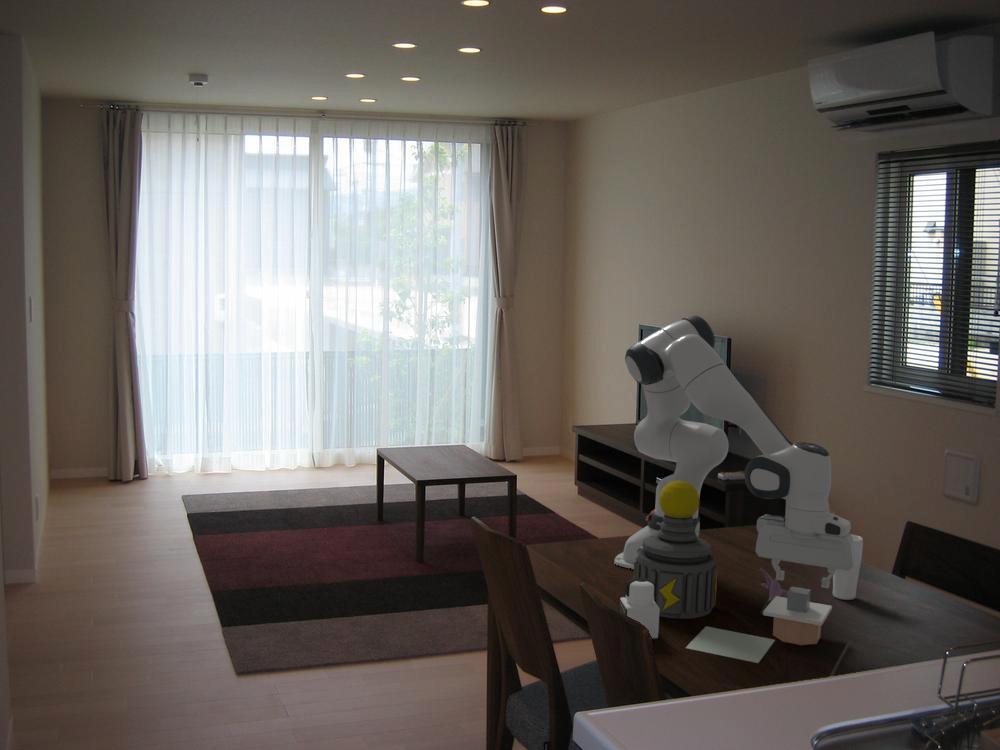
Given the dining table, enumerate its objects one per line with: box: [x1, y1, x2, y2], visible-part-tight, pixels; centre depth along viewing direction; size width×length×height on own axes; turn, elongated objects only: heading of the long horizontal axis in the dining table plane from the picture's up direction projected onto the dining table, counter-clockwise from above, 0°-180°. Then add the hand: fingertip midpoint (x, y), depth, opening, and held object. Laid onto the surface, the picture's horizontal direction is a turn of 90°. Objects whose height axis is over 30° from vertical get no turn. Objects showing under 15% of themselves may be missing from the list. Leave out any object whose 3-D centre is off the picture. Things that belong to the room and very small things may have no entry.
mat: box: [685, 625, 776, 664], centre depth 219 cm, size 15×15×1 cm
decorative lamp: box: [633, 480, 719, 620], centre depth 240 cm, size 19×19×30 cm
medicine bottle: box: [619, 577, 660, 639], centre depth 223 cm, size 7×7×12 cm
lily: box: [759, 566, 788, 615], centre depth 241 cm, size 12×12×10 cm
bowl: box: [772, 617, 822, 646], centre depth 224 cm, size 9×9×6 cm
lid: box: [762, 586, 833, 627], centre depth 223 cm, size 12×12×5 cm
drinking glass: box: [832, 533, 864, 601], centre depth 253 cm, size 7×7×15 cm
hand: (802, 583), depth 223 cm, fingers open, 8 cm apart
